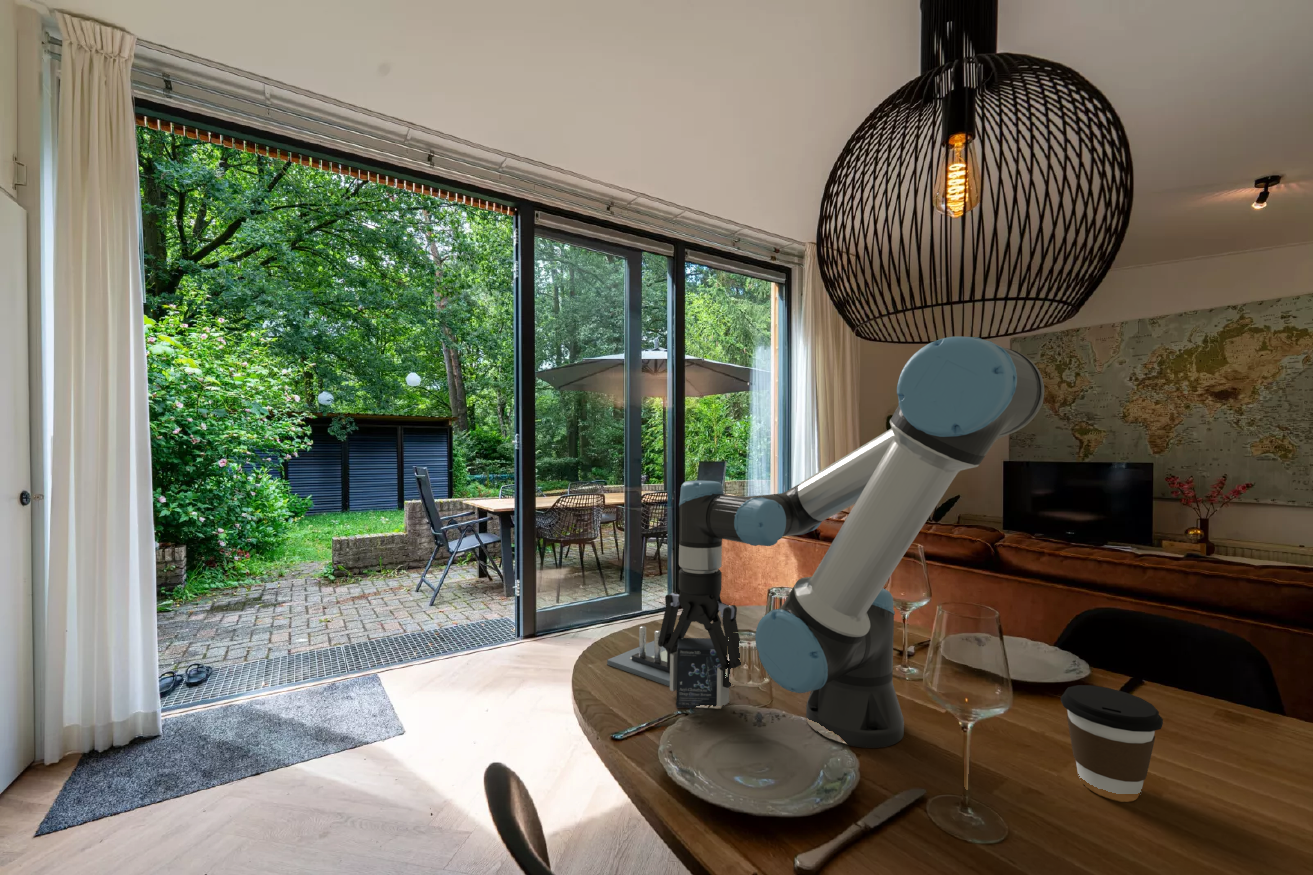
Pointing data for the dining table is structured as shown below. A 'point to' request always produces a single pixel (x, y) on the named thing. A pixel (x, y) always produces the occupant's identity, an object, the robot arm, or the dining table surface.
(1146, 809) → the dining table surface
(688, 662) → the box
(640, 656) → the header pins
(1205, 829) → the dining table surface
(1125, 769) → the coffee cup
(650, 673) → the slate board
